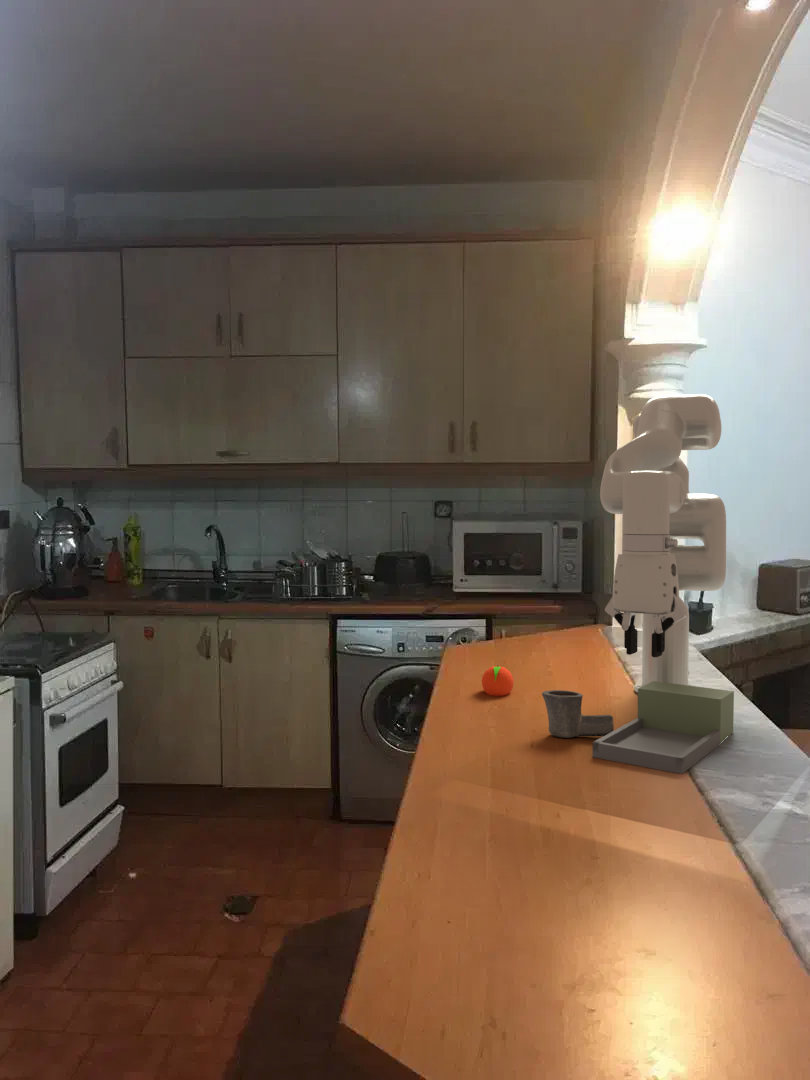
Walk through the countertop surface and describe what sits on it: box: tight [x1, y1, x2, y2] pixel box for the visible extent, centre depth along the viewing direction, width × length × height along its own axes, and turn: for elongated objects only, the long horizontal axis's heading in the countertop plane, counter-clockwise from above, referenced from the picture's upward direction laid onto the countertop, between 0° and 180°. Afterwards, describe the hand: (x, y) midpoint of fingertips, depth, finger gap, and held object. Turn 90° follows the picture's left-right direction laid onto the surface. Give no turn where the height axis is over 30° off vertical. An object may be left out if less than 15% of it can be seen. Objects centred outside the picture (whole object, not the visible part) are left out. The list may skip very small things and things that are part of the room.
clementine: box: [481, 665, 515, 697], centre depth 184 cm, size 8×7×7 cm
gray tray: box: [591, 681, 735, 775], centre depth 148 cm, size 28×15×8 cm, turn 143°
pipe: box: [541, 689, 615, 739], centre depth 154 cm, size 6×13×8 cm, turn 77°
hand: (644, 653), depth 142 cm, fingers open, 3 cm apart
